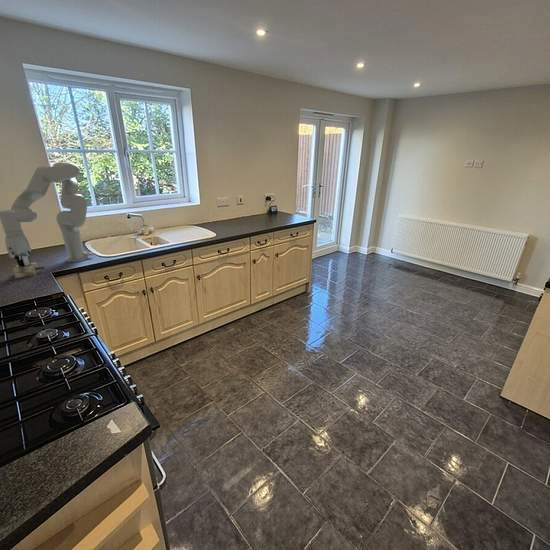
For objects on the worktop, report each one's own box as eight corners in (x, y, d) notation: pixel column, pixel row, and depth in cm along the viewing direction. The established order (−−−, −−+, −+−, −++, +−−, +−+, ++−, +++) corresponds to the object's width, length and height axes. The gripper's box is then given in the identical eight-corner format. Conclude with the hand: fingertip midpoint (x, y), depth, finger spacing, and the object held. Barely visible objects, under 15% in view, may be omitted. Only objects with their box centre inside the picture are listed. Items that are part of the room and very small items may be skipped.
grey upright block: (23, 267, 172) (18, 252, 169) (33, 267, 172) (28, 252, 168) (18, 269, 169) (13, 254, 166) (28, 269, 169) (23, 254, 165)
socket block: (46, 269, 179) (44, 261, 177) (43, 274, 171) (41, 265, 169) (19, 272, 173) (17, 264, 172) (15, 277, 166) (12, 269, 164)
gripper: (20, 229, 171) (30, 260, 177) (-7, 236, 155) (5, 269, 162) (33, 229, 170) (42, 260, 177) (7, 237, 155) (18, 270, 162)
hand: (24, 264), depth 169 cm, fingers closed on grey upright block, 3 cm apart
